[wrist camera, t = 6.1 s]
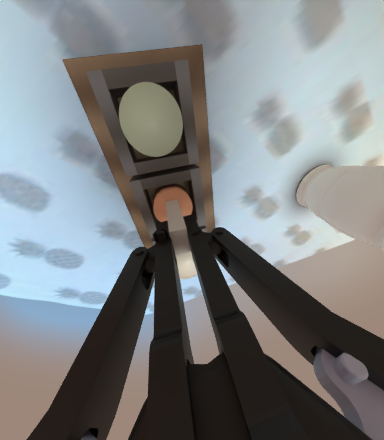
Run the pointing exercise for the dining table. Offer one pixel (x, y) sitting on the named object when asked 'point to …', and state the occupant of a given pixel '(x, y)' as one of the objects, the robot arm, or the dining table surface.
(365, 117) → the dining table surface
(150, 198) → the button board
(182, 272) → the button cream
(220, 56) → the dining table surface
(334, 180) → the jar
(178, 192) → the button terracotta
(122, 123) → the button sage
